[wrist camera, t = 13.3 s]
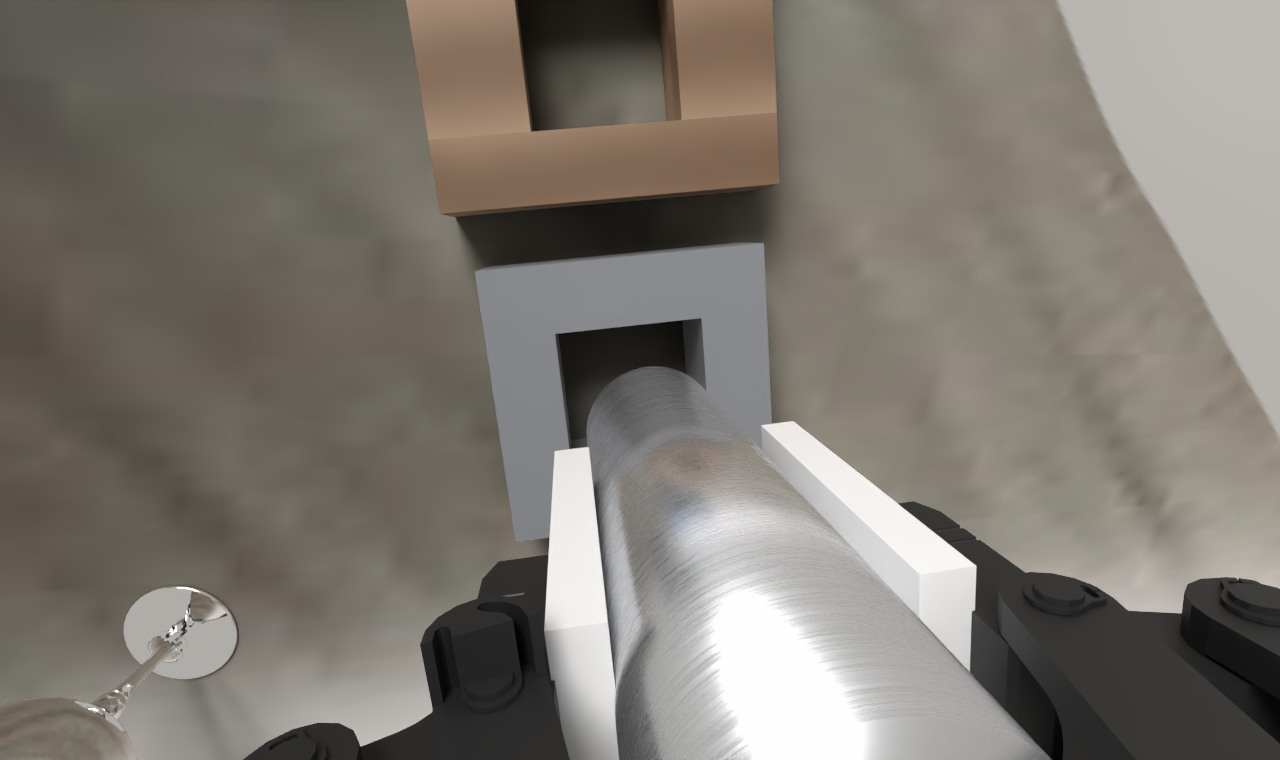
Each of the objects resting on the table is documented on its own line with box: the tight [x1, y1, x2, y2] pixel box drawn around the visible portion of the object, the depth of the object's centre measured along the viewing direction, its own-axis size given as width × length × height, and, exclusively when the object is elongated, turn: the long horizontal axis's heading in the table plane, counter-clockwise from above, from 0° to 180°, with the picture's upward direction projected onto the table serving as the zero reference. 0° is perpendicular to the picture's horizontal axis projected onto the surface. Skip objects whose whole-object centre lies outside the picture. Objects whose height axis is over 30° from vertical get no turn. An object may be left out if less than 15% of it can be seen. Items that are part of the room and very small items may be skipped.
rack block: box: [475, 243, 772, 542], centre depth 24 cm, size 10×10×4 cm
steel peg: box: [586, 366, 1052, 760], centre depth 12 cm, size 4×4×14 cm
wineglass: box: [0, 586, 237, 760], centre depth 21 cm, size 6×6×12 cm
